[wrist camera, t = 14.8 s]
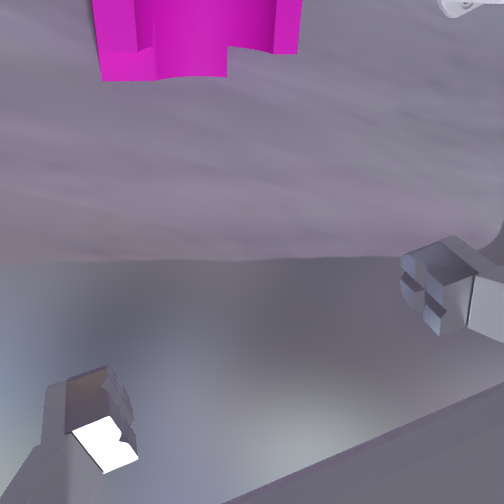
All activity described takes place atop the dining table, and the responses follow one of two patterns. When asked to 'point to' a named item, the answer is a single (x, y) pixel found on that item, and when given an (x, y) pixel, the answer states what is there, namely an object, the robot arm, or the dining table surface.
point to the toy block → (188, 35)
